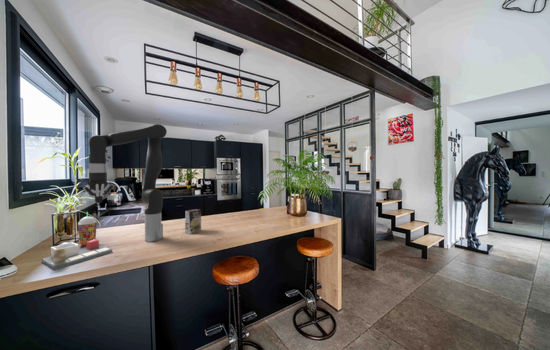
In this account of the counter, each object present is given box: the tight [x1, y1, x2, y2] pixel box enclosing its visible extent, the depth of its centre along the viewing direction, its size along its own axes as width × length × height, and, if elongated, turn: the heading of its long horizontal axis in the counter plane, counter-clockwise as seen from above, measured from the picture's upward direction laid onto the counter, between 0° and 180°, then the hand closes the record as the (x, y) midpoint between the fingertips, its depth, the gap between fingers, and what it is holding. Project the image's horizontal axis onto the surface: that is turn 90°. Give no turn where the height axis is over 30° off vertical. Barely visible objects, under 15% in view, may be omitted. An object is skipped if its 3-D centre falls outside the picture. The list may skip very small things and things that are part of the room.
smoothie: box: [77, 211, 98, 247], centre depth 119 cm, size 8×8×20 cm
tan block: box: [53, 248, 66, 264], centre depth 93 cm, size 4×4×6 cm
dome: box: [57, 241, 73, 249], centre depth 101 cm, size 6×6×6 cm
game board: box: [41, 239, 113, 271], centre depth 103 cm, size 22×17×6 cm
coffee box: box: [184, 208, 202, 235], centre depth 144 cm, size 9×6×16 cm
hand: (98, 203), depth 110 cm, fingers closed
